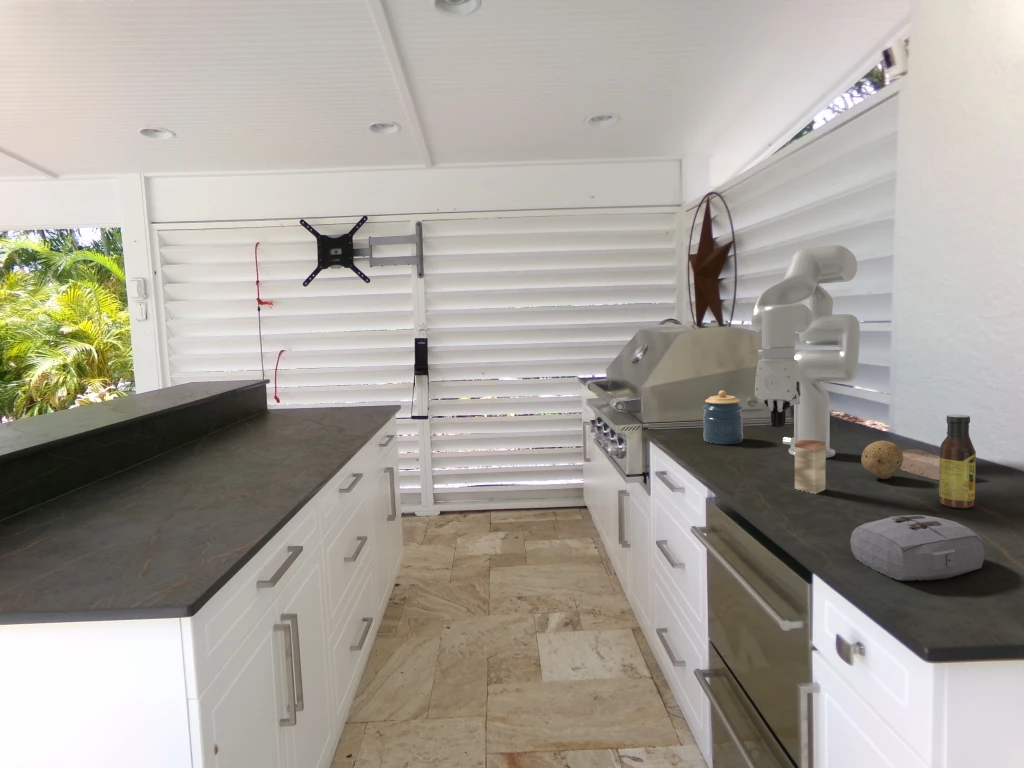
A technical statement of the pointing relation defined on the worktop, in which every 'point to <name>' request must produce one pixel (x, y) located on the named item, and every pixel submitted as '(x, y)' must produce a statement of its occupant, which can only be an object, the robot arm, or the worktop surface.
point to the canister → (723, 419)
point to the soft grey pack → (918, 547)
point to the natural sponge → (882, 459)
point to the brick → (921, 463)
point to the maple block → (810, 465)
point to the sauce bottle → (957, 464)
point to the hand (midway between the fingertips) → (778, 426)
